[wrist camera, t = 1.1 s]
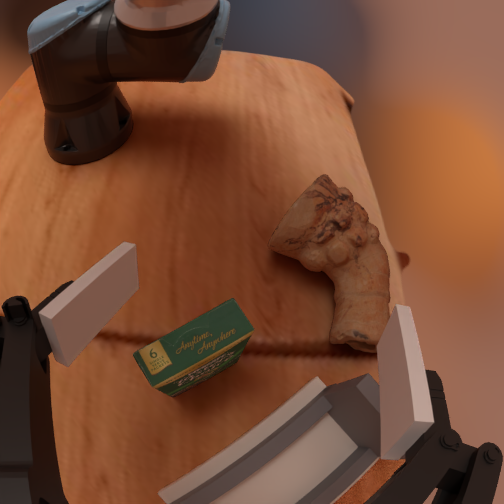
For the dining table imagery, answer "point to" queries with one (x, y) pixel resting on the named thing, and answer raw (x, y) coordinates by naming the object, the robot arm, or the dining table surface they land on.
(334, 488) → the rack
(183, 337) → the coffee box
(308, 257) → the clay pipe
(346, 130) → the dining table surface
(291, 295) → the dining table surface
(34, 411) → the robot arm
